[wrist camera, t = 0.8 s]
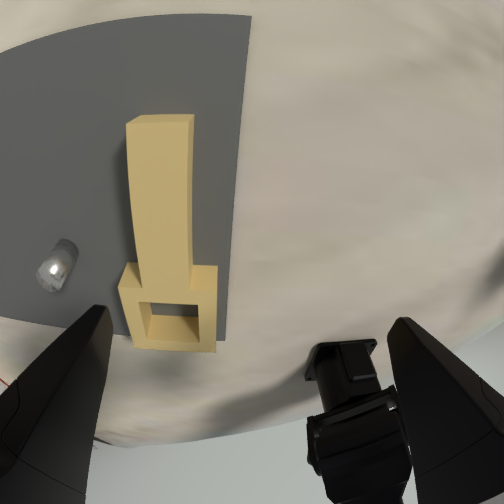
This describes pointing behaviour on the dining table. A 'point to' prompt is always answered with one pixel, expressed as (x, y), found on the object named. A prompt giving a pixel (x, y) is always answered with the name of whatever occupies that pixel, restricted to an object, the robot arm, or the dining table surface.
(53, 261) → the cylinder
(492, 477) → the robot arm
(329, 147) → the dining table surface
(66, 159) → the mat
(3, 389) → the cracker box
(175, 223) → the link
